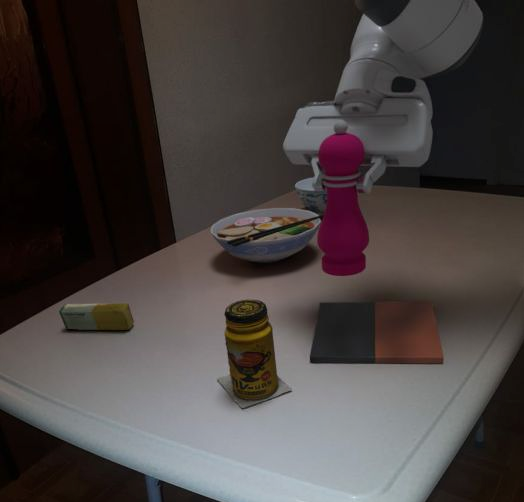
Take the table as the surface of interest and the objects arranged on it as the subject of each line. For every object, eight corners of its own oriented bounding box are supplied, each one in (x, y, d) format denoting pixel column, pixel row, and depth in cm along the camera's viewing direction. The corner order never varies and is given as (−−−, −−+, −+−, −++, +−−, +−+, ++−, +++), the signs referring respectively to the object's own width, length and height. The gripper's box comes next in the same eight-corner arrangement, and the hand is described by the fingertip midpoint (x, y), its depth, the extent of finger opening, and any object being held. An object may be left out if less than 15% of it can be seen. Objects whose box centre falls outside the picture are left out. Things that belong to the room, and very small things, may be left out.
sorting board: (431, 306, 90) (431, 300, 90) (443, 363, 75) (443, 357, 74) (320, 307, 94) (320, 302, 93) (310, 362, 78) (309, 356, 78)
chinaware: (365, 215, 137) (365, 184, 133) (308, 225, 134) (306, 193, 130) (342, 202, 150) (341, 172, 146) (289, 211, 147) (287, 181, 143)
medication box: (65, 331, 95) (57, 311, 93) (72, 322, 97) (64, 303, 95) (129, 330, 92) (122, 310, 90) (135, 321, 95) (129, 301, 92)
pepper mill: (353, 281, 76) (351, 125, 66) (309, 273, 80) (300, 124, 70) (378, 263, 81) (379, 115, 71) (334, 256, 85) (330, 115, 75)
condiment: (242, 409, 70) (230, 324, 64) (216, 379, 77) (204, 300, 71) (292, 391, 73) (286, 308, 67) (263, 364, 79) (255, 286, 73)
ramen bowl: (284, 231, 132) (281, 197, 128) (349, 254, 115) (348, 215, 111) (191, 260, 120) (185, 223, 116) (248, 289, 103) (243, 247, 99)
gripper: (292, 88, 79) (263, 174, 77) (437, 80, 69) (409, 179, 67) (308, 117, 84) (281, 198, 82) (444, 113, 74) (419, 206, 72)
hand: (340, 190), depth 74 cm, fingers closed on pepper mill, 5 cm apart
